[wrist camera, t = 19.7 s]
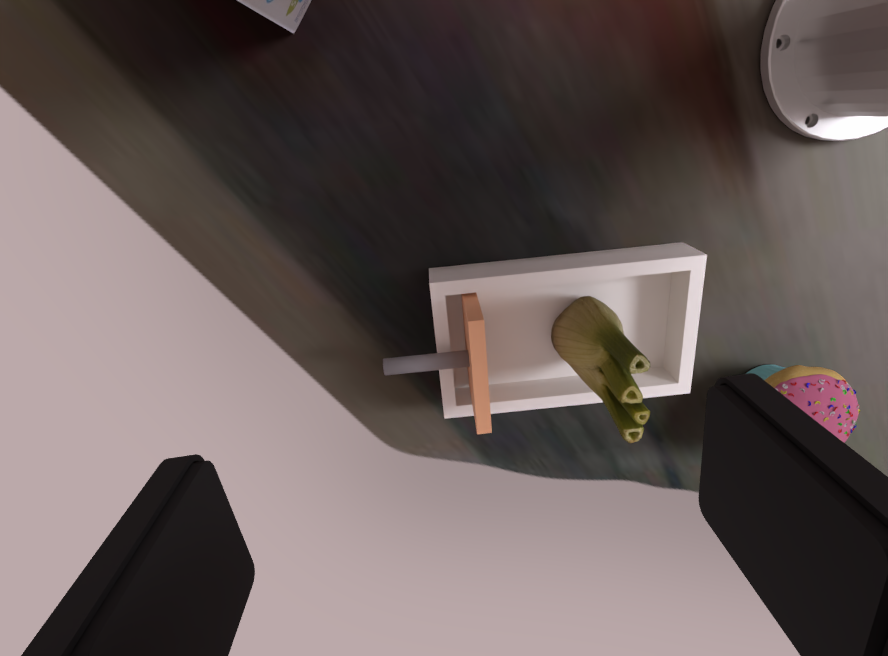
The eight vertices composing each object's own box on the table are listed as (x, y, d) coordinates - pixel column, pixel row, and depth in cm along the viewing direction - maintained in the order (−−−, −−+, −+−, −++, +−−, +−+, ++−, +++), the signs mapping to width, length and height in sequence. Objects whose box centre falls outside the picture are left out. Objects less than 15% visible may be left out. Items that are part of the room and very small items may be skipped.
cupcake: (766, 441, 45) (877, 548, 34) (690, 410, 44) (780, 512, 33) (832, 363, 42) (976, 453, 31) (752, 326, 41) (876, 408, 30)
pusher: (474, 285, 37) (484, 320, 31) (481, 384, 40) (491, 432, 34) (379, 294, 37) (371, 331, 31) (394, 392, 40) (389, 443, 34)
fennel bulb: (569, 279, 37) (630, 350, 26) (626, 301, 38) (708, 379, 27) (535, 344, 40) (578, 436, 29) (589, 364, 40) (652, 460, 29)
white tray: (682, 242, 37) (706, 254, 34) (669, 371, 42) (690, 393, 39) (428, 268, 37) (429, 283, 34) (442, 394, 42) (444, 418, 39)
